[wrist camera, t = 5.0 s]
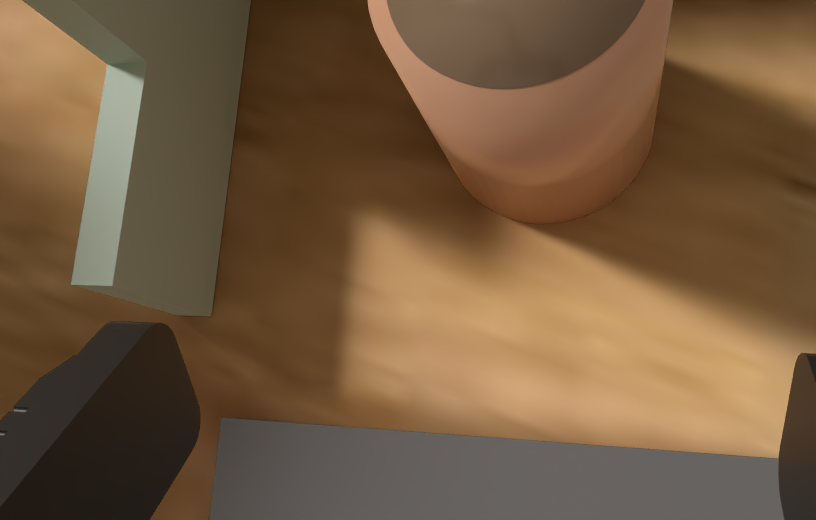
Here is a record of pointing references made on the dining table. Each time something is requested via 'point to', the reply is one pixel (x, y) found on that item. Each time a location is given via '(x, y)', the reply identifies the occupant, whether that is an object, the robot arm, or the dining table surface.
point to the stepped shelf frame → (158, 145)
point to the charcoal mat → (473, 478)
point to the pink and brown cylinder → (533, 94)
